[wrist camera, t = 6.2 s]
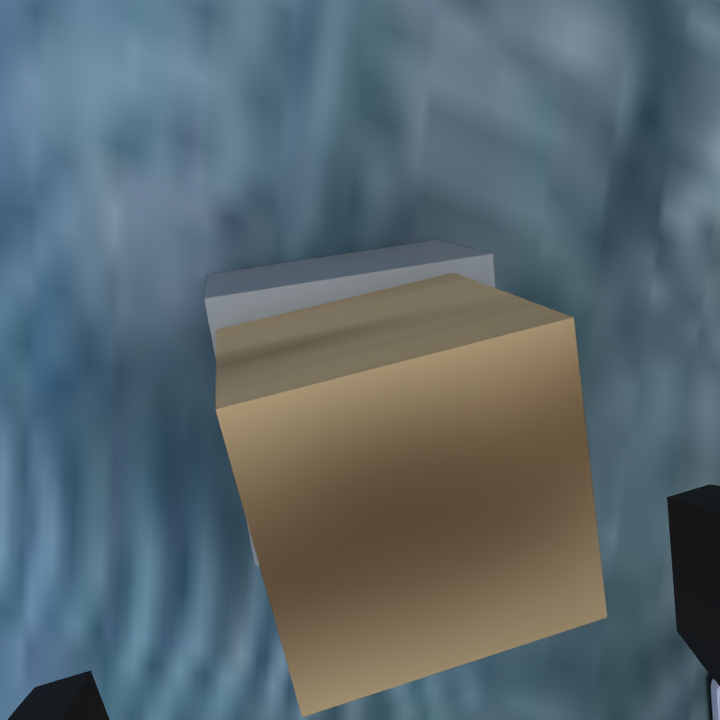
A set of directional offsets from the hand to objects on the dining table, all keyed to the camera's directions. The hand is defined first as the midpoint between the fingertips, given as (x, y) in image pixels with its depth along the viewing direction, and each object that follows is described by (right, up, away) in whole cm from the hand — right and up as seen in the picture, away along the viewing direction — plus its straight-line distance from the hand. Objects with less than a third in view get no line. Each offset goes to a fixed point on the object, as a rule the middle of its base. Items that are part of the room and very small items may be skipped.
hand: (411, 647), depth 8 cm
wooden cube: (-1, +2, +6) cm, 7 cm away
